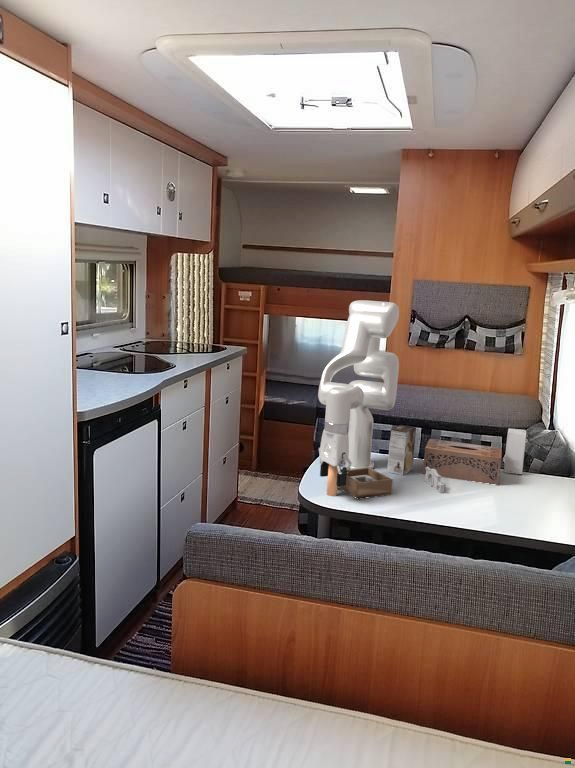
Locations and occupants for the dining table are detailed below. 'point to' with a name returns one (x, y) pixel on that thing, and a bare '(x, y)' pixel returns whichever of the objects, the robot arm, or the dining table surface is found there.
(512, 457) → the skincare box
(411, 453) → the coffee box
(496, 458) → the tissue box cover
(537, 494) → the dining table surface
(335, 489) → the peg
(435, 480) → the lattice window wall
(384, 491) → the box
